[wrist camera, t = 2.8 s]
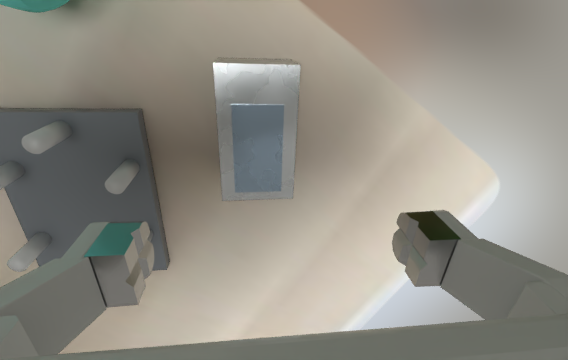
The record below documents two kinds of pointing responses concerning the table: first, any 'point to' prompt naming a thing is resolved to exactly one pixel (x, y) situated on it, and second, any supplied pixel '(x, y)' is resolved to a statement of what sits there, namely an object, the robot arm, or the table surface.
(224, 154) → the block
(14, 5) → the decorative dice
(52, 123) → the peg board
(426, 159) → the table surface
